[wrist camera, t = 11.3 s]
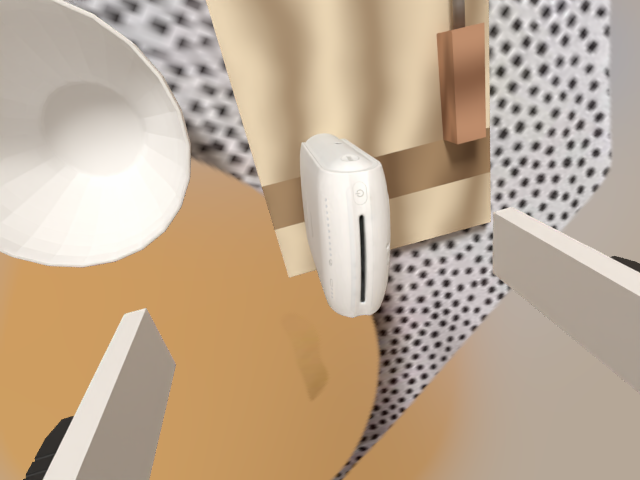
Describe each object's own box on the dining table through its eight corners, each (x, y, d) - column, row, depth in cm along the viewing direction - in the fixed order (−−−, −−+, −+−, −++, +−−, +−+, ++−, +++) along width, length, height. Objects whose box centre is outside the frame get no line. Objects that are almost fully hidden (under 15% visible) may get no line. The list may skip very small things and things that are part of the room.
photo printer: (294, 133, 29) (320, 172, 18) (347, 128, 29) (404, 163, 18) (304, 250, 33) (331, 339, 22) (351, 244, 34) (399, 328, 23)
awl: (469, 132, 31) (485, 137, 29) (443, 139, 31) (457, 144, 29) (463, -73, 25) (482, -87, 23) (429, -66, 25) (446, -79, 23)
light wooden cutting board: (287, 269, 35) (289, 277, 34) (204, -9, 25) (201, -14, 24) (481, 216, 37) (490, 221, 35) (476, -71, 26) (487, -79, 25)
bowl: (189, 12, 26) (169, -7, 20) (214, 223, 32) (205, 260, 26) (-72, 3, 23) (-192, -23, 17) (12, 233, 30) (-52, 276, 24)
